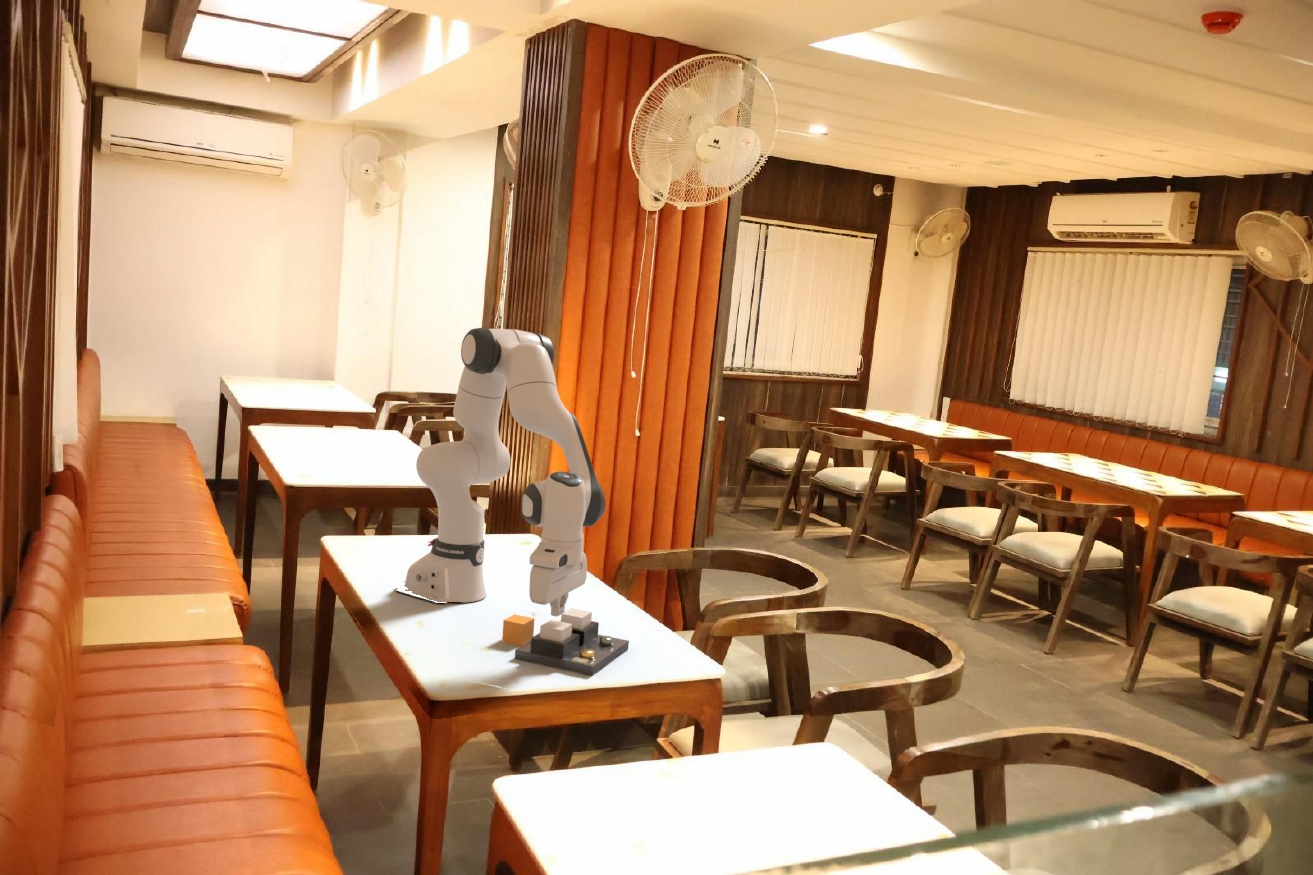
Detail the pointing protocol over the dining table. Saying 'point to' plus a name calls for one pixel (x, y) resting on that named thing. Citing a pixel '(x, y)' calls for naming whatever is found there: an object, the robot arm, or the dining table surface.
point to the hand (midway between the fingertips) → (557, 614)
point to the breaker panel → (574, 651)
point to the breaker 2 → (577, 618)
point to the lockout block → (518, 630)
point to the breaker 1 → (556, 631)
